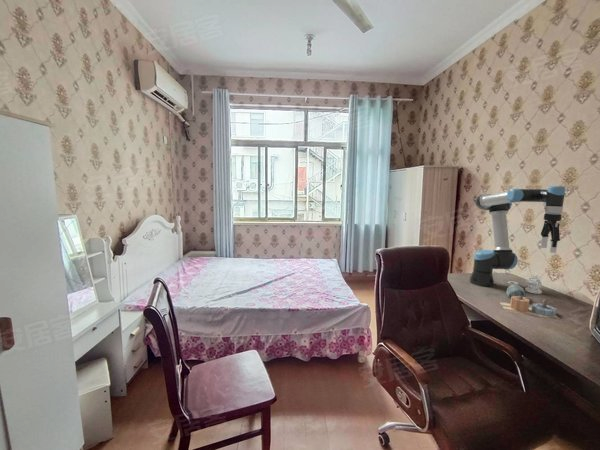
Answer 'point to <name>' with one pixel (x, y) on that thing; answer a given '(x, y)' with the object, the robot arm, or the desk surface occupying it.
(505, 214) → the robot arm
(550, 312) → the gear
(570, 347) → the desk surface
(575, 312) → the desk surface
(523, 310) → the loose gear
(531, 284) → the figurine
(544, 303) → the gear board
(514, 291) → the spool
